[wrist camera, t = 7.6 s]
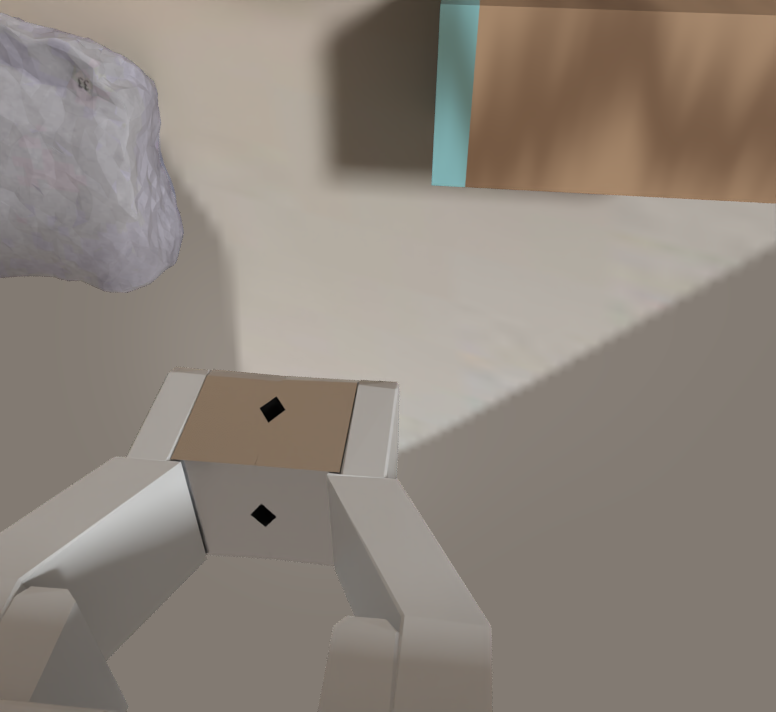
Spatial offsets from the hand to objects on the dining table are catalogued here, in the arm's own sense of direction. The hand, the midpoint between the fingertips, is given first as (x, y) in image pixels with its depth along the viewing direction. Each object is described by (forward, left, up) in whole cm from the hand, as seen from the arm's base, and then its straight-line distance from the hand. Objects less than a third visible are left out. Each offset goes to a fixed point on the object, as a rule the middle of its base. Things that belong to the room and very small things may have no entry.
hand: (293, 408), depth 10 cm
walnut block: (0, +1, -16) cm, 16 cm away
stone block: (+4, -14, -19) cm, 24 cm away
